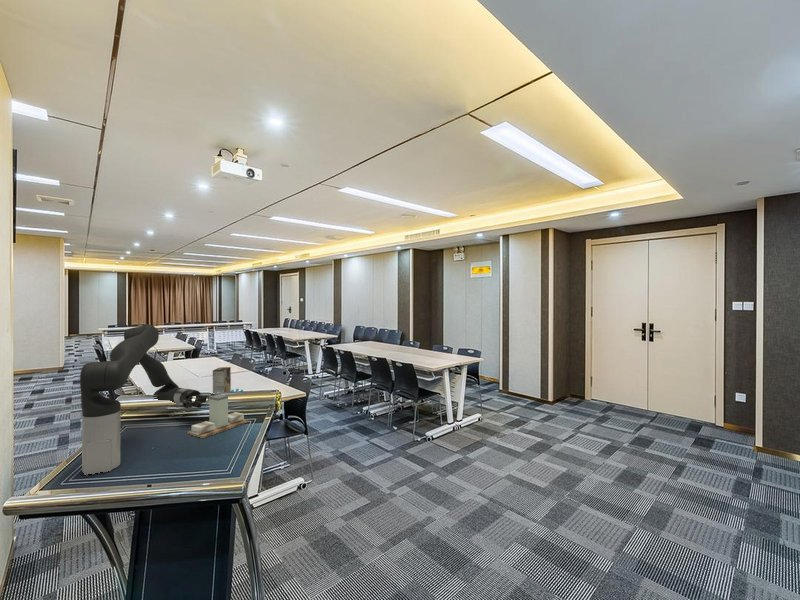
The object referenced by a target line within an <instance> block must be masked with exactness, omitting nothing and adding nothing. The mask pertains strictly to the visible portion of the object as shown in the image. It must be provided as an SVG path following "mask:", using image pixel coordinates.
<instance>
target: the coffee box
mask: <svg viewBox="0 0 800 600" xmlns="http://www.w3.org/2000/svg"><path fill="white" fill-rule="evenodd" d="M231 373H232V372H231V366H228V367H227V366H226V367H225V366H224V367H223V366H222V367H217V368H215V369H213V370H212V394H213V393H217V392H231V390H232V388H231V386H232V385H231V384H232V382H231V380H232V378H231V375H232V374H231ZM231 393H232V392H231Z"/></svg>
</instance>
